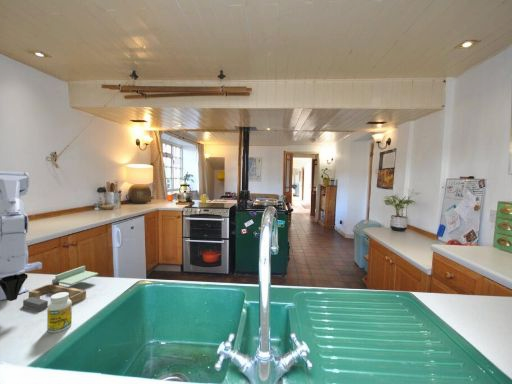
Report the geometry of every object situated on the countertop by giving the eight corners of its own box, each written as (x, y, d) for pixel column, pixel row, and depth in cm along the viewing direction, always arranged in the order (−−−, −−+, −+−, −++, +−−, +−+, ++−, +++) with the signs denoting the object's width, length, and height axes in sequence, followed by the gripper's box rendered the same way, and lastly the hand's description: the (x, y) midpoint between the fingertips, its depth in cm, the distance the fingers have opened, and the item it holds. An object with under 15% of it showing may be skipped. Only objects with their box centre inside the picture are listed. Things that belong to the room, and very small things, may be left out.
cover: (68, 286, 85) (68, 279, 85) (50, 282, 87) (50, 276, 87) (98, 274, 97) (98, 268, 97) (82, 271, 99) (82, 265, 99)
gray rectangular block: (23, 307, 77) (23, 300, 77) (31, 303, 79) (32, 296, 79) (39, 311, 75) (39, 304, 75) (47, 308, 77) (47, 301, 77)
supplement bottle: (72, 320, 71) (73, 289, 71) (70, 329, 66) (71, 296, 66) (48, 325, 68) (49, 293, 68) (45, 335, 63) (45, 301, 63)
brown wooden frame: (28, 298, 82) (28, 290, 82) (54, 288, 90) (54, 280, 90) (65, 307, 77) (65, 298, 77) (89, 296, 85) (89, 288, 85)
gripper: (-12, 264, 62) (-13, 314, 63) (49, 250, 76) (48, 291, 77) (-29, 261, 64) (-30, 309, 64) (33, 247, 78) (32, 287, 78)
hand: (11, 299), depth 71 cm, fingers closed
